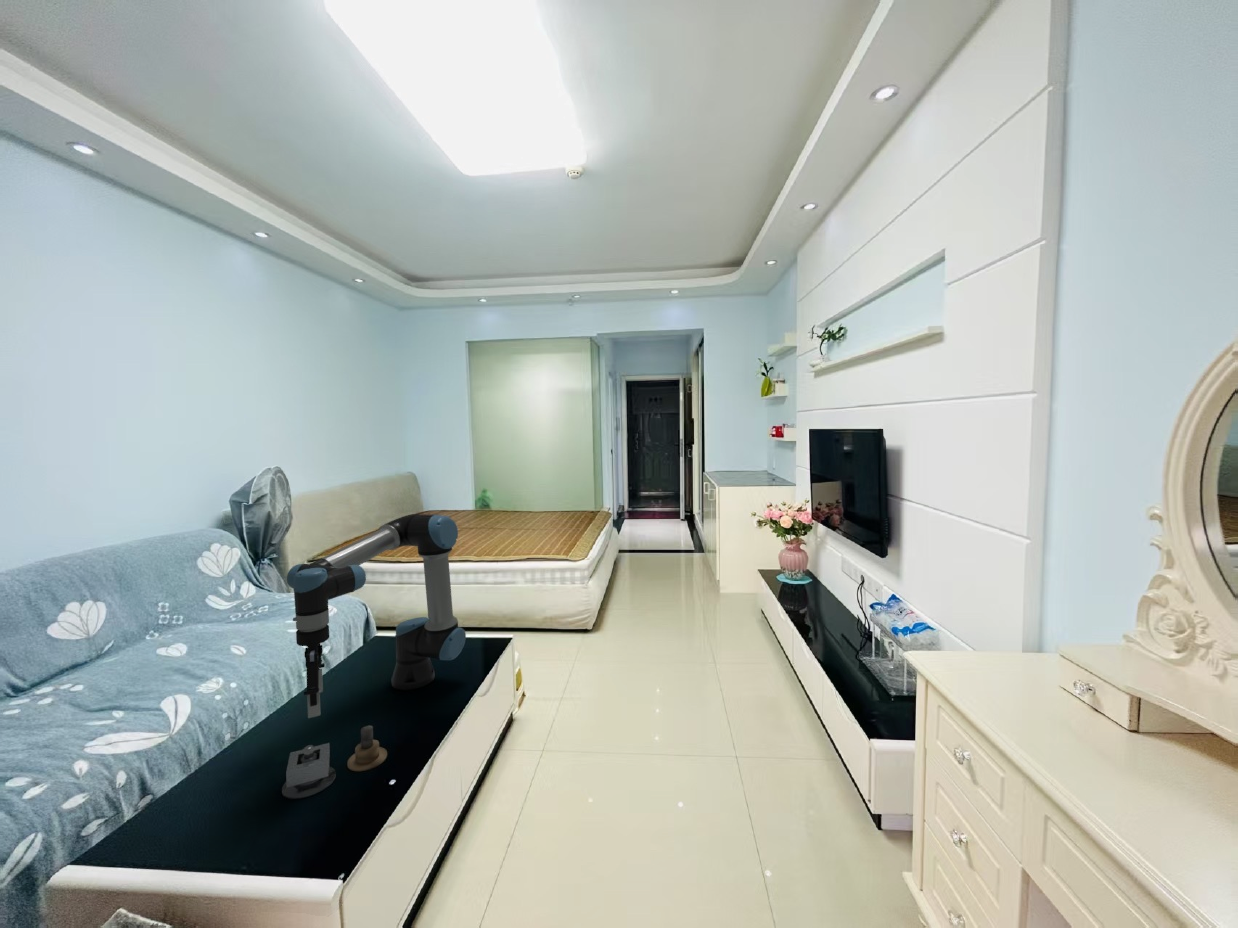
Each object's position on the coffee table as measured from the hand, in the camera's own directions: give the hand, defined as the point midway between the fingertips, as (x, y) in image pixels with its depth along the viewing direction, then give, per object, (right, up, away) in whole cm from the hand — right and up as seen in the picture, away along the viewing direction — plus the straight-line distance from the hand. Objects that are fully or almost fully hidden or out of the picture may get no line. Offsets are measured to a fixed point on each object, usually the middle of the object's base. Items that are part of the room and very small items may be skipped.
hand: (315, 703), depth 132 cm
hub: (0, -19, -3) cm, 19 cm away
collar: (0, -16, -3) cm, 17 cm away
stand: (+11, -19, +6) cm, 23 cm away
